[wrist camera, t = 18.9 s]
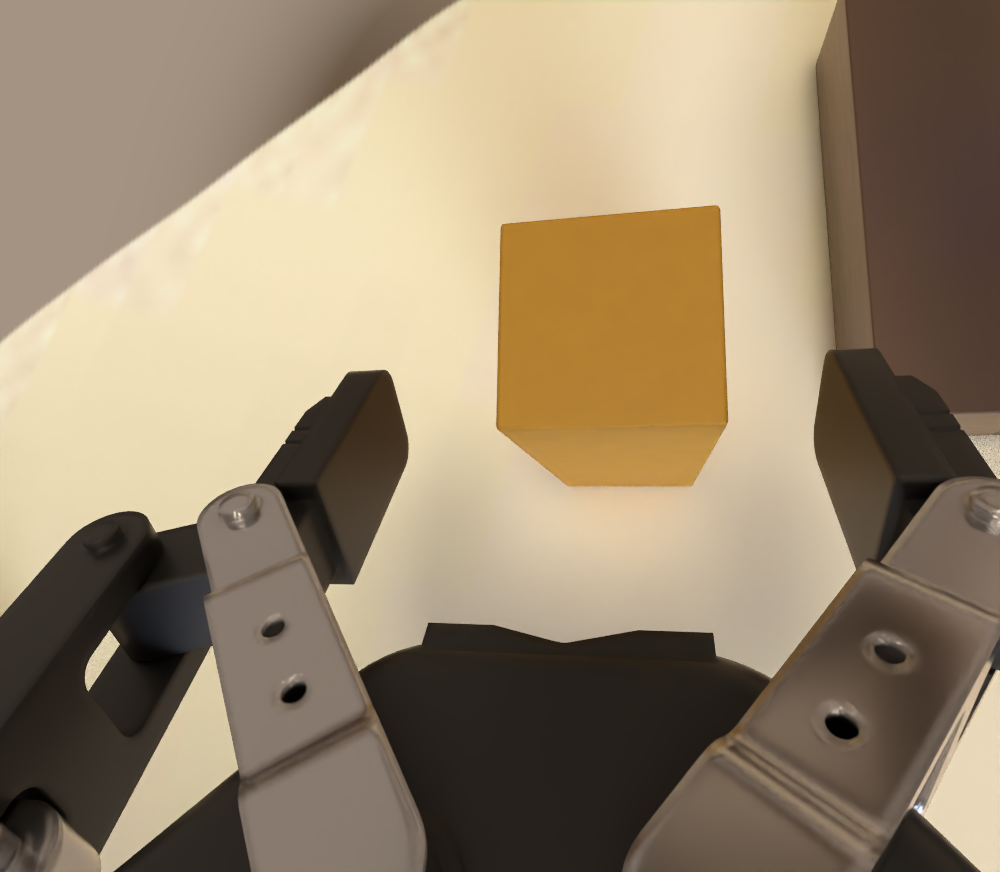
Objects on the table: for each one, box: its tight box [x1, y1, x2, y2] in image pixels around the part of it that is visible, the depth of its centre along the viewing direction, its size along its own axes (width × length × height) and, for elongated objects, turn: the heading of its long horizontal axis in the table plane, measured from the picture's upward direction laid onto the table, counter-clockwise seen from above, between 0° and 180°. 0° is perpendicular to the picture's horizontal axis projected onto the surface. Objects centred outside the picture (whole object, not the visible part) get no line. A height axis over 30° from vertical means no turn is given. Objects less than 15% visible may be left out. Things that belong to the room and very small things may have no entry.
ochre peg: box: [496, 205, 728, 486], centre depth 17 cm, size 4×4×10 cm
